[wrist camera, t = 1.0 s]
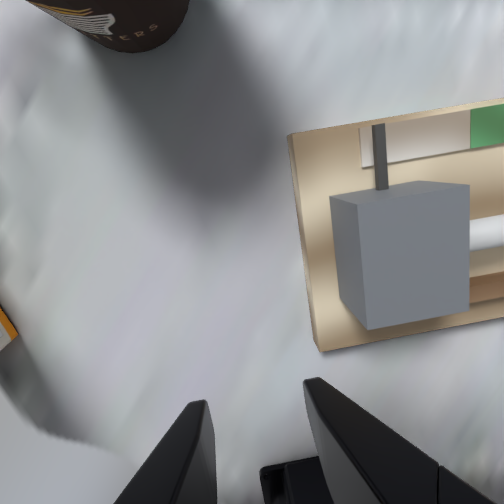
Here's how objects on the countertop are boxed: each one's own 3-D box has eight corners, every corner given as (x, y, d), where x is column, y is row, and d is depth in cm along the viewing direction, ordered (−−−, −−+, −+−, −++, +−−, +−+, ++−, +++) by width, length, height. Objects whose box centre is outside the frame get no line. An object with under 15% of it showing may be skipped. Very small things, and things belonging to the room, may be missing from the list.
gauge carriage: (519, 264, 20) (588, 287, 16) (339, 297, 20) (367, 330, 16) (526, 99, 18) (610, 82, 14) (322, 134, 17) (350, 125, 14)
